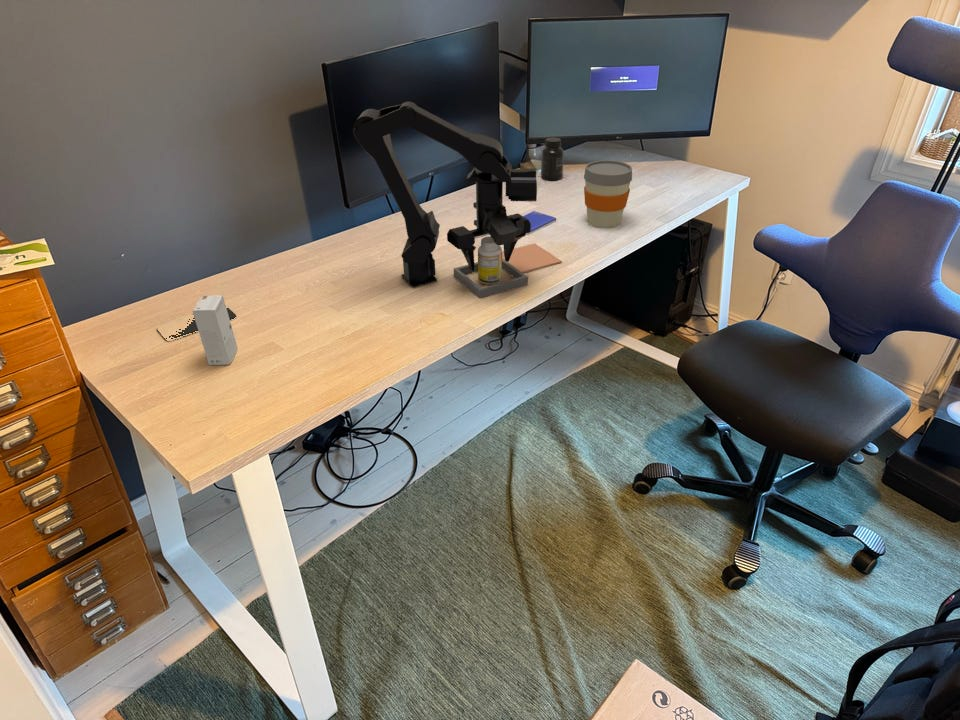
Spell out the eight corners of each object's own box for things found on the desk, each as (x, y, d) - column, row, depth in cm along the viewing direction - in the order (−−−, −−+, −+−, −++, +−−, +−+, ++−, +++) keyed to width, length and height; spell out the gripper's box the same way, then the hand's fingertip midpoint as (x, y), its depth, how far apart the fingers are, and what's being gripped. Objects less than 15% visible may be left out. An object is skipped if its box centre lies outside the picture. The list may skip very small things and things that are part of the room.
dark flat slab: (238, 316, 145) (167, 340, 137) (238, 319, 145) (168, 344, 137) (224, 303, 149) (154, 326, 142) (225, 307, 150) (155, 329, 142)
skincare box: (231, 365, 130) (216, 310, 123) (207, 366, 130) (191, 311, 123) (238, 347, 135) (224, 294, 128) (215, 348, 135) (200, 295, 128)
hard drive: (533, 210, 190) (504, 223, 183) (556, 217, 185) (528, 231, 178) (533, 215, 191) (504, 229, 183) (556, 223, 186) (527, 237, 179)
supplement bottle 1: (488, 272, 161) (488, 232, 155) (507, 279, 158) (507, 238, 152) (473, 281, 157) (472, 240, 152) (491, 288, 154) (491, 247, 149)
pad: (519, 274, 160) (519, 272, 159) (494, 255, 168) (494, 253, 168) (561, 262, 165) (561, 260, 164) (534, 245, 173) (534, 243, 173)
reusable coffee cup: (571, 221, 186) (574, 167, 177) (600, 209, 192) (605, 157, 184) (606, 234, 178) (612, 179, 169) (636, 221, 185) (643, 167, 176)
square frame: (479, 298, 150) (479, 290, 149) (453, 276, 160) (453, 268, 158) (527, 284, 155) (527, 276, 154) (499, 263, 165) (499, 256, 163)
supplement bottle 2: (560, 173, 218) (562, 136, 211) (564, 181, 213) (566, 142, 206) (539, 174, 218) (540, 136, 211) (542, 181, 212) (543, 143, 206)
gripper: (469, 221, 137) (471, 289, 146) (546, 203, 144) (543, 269, 153) (444, 204, 145) (447, 269, 154) (518, 188, 153) (517, 251, 161)
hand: (489, 265), depth 155 cm, fingers open, 9 cm apart
